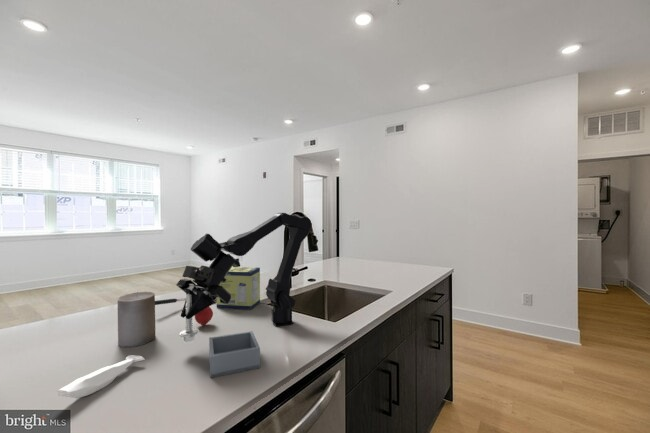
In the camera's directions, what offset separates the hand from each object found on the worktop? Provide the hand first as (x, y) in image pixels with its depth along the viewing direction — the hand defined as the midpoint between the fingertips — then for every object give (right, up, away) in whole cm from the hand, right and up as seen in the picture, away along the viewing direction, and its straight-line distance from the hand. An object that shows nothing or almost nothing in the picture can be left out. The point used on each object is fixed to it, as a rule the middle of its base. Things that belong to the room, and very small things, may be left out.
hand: (184, 317), depth 79 cm
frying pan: (-19, -10, +44) cm, 49 cm away
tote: (+15, -10, -4) cm, 18 cm away
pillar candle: (-19, -10, +9) cm, 23 cm away
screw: (+1, -7, +1) cm, 7 cm away
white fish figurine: (-11, -10, -14) cm, 21 cm away
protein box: (+2, -10, +44) cm, 45 cm away
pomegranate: (-4, -10, +21) cm, 24 cm away
